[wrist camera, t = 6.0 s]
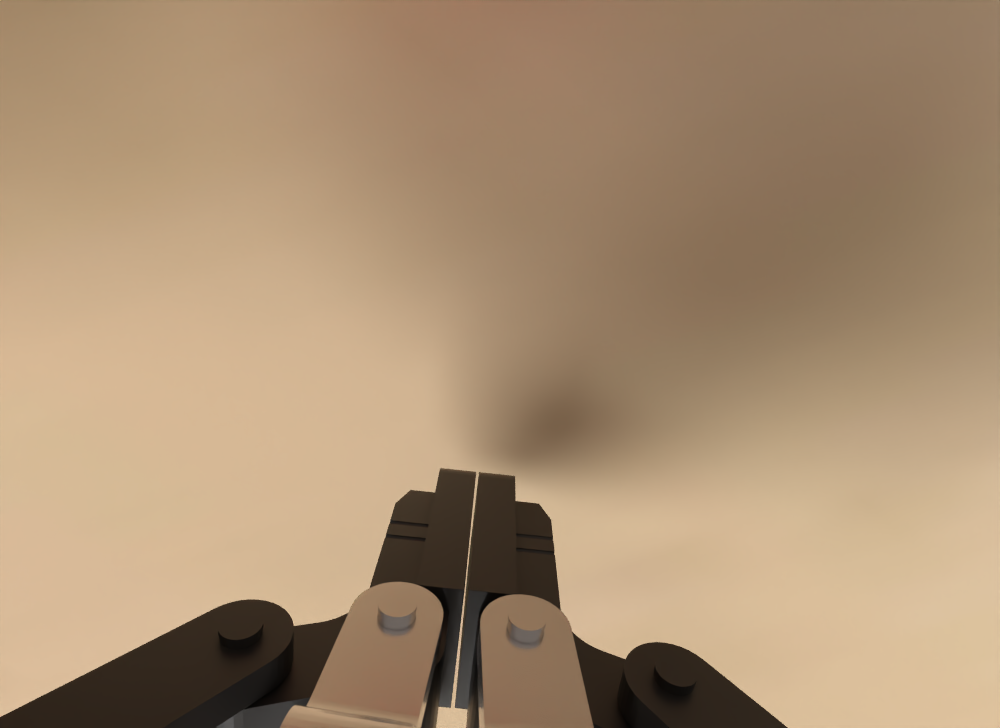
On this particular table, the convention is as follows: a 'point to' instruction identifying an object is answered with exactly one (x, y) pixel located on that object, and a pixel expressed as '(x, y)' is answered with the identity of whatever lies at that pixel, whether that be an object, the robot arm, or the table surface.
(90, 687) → the robot arm
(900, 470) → the table surface
